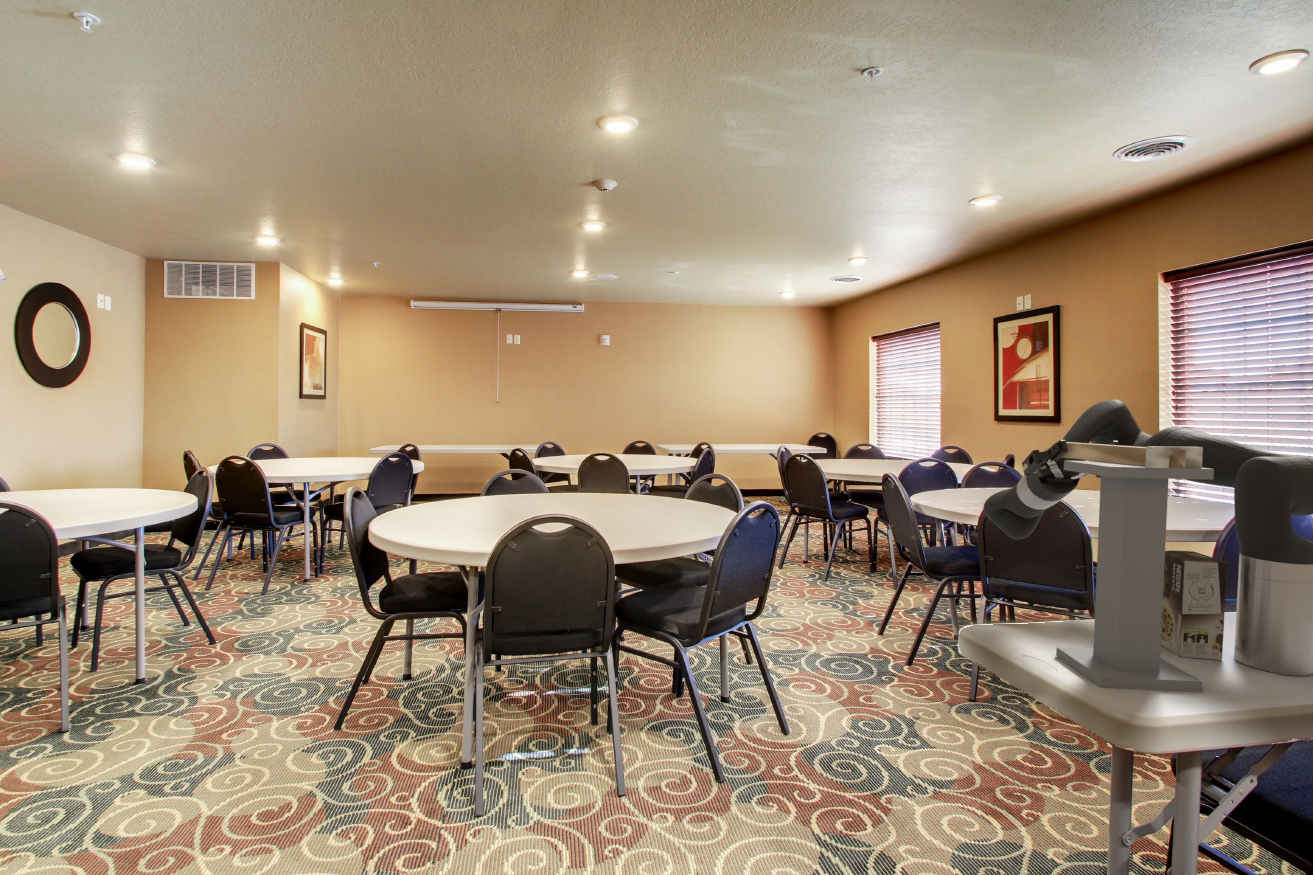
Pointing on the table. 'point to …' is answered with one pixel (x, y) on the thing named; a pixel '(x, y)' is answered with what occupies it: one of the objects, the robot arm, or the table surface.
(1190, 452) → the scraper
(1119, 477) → the stand
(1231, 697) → the table surface
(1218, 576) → the coffee box
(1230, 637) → the table surface
